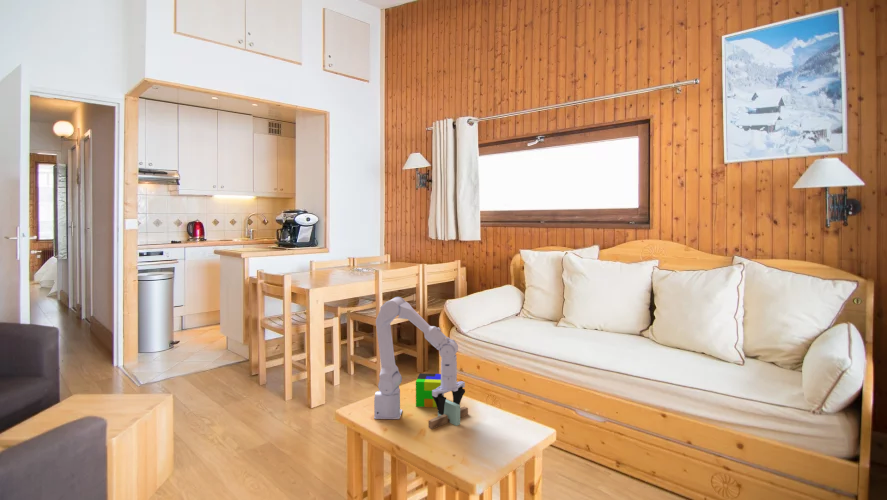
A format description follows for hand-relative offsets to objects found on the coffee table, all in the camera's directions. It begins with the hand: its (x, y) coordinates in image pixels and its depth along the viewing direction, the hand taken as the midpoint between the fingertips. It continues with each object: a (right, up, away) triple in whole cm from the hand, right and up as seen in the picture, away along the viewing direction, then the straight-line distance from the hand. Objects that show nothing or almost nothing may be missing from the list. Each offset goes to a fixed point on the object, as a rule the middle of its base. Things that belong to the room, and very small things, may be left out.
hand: (448, 410), depth 169 cm
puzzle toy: (-7, -3, +17) cm, 19 cm away
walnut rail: (0, -4, 0) cm, 4 cm away
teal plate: (0, -4, 0) cm, 4 cm away
